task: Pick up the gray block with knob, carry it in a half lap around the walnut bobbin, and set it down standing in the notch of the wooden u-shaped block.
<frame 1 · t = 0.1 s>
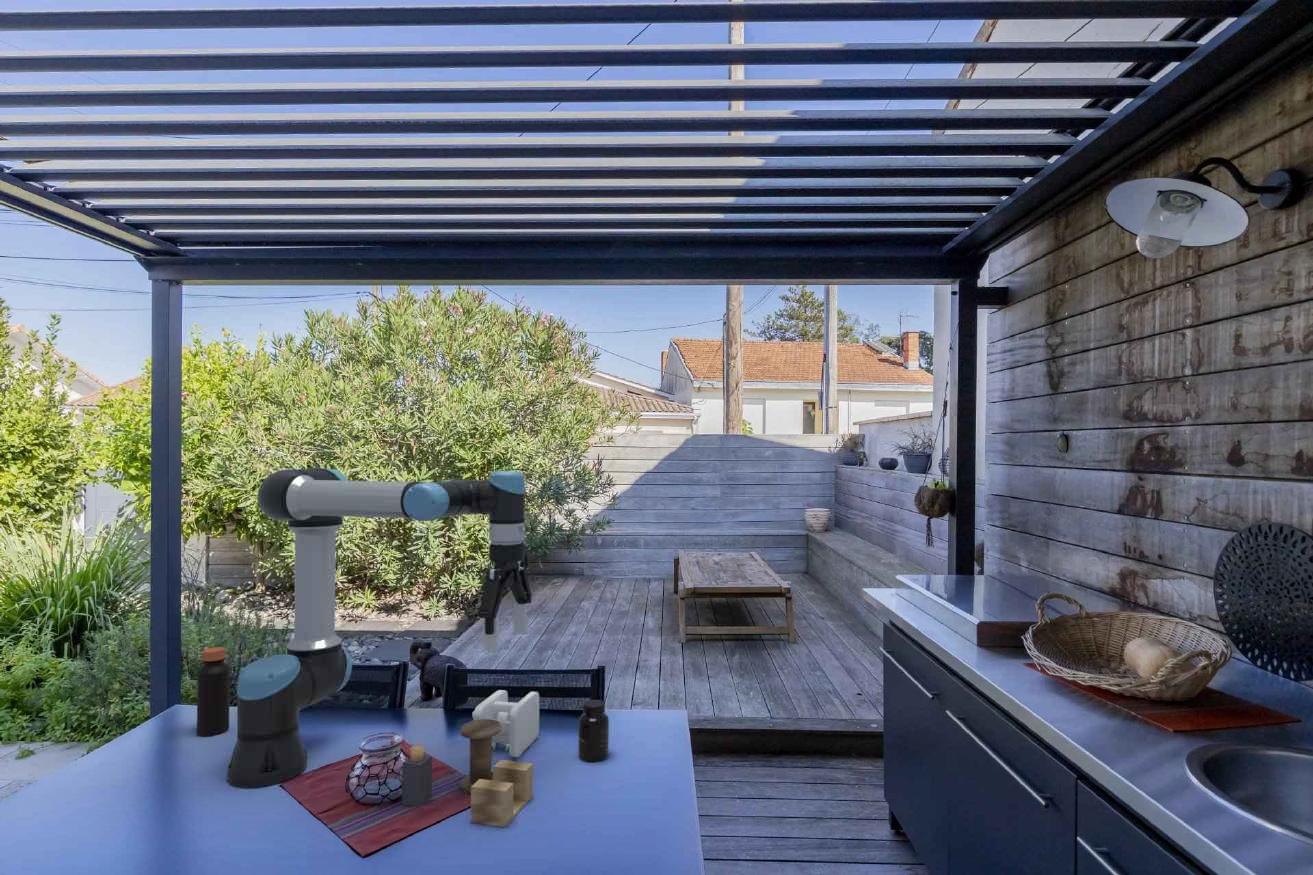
hand: (506, 640, 155), 28 cm above the table, tool pointing down, fingers open, 13 cm apart
vinegar: (213, 732, 176), on the table
supplement bottle: (593, 757, 162), on the table
wooden u-shaped block: (502, 809, 138), on the table
bobbin: (480, 784, 148), on the table
cable organizer: (506, 749, 166), on the table
gray block with knob: (417, 800, 142), on the table
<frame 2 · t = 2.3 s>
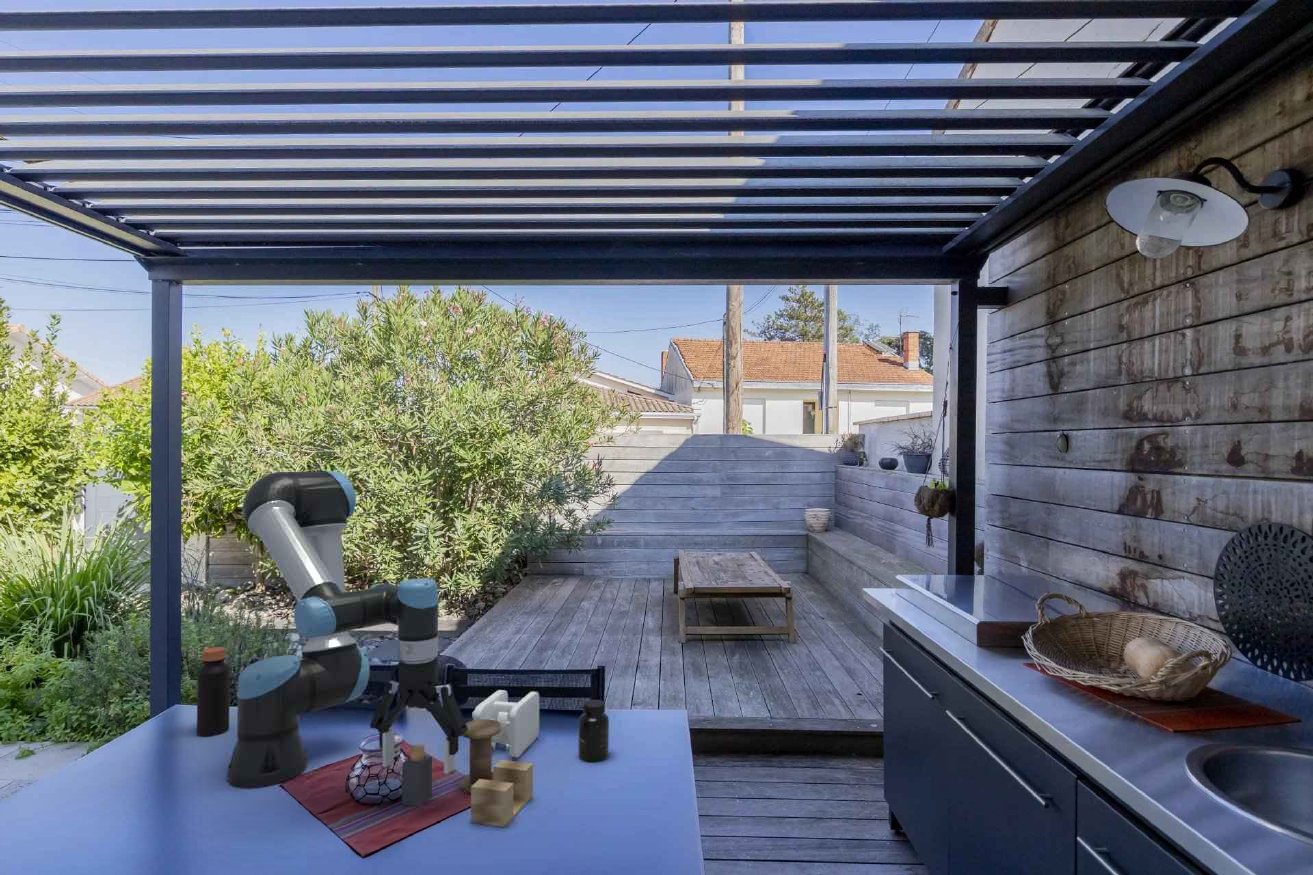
hand: (418, 767, 142), 7 cm above the table, tool pointing down, fingers open, 13 cm apart
nothing on the table moved.
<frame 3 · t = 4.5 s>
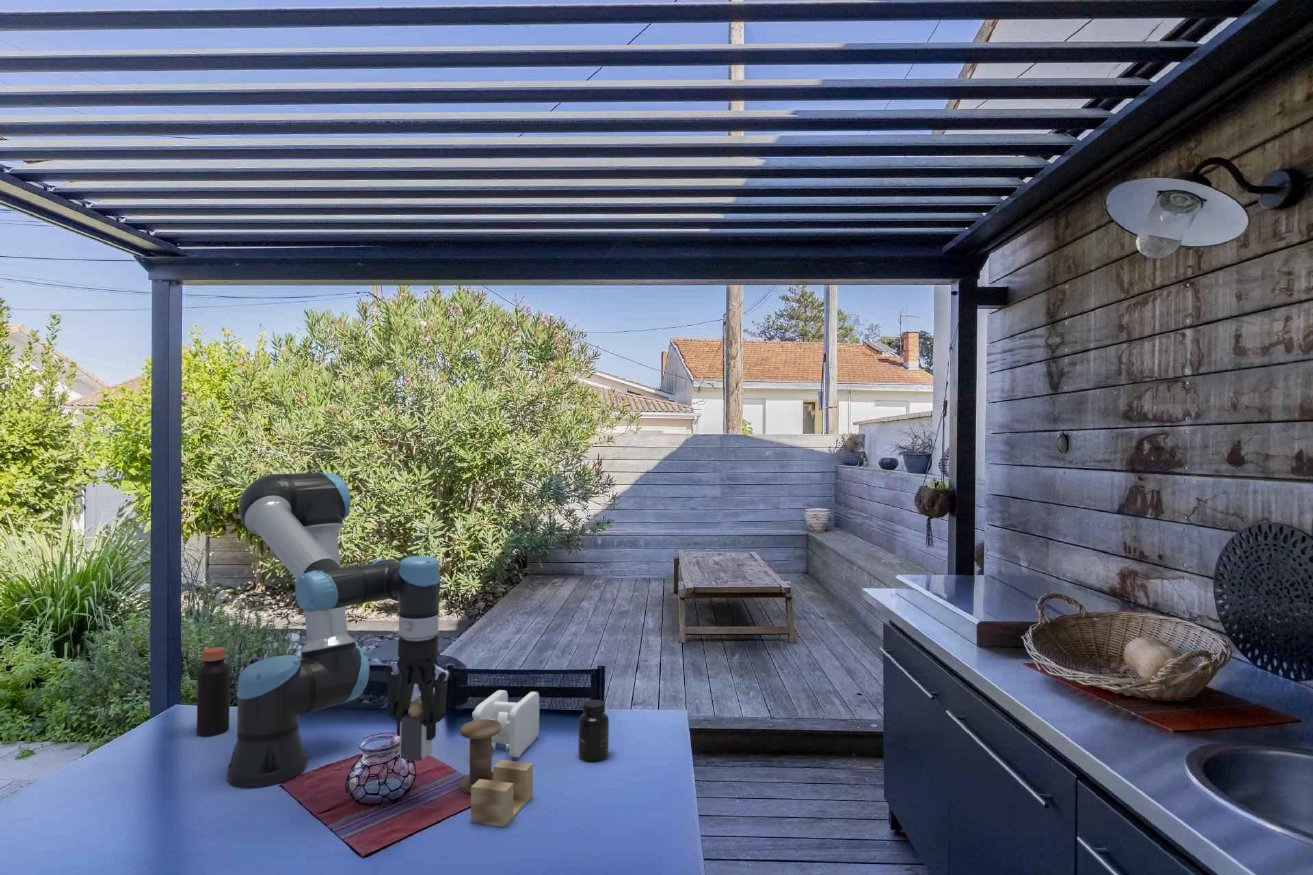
hand: (415, 753, 142), 9 cm above the table, tool pointing down, fingers closed on gray block with knob, 4 cm apart
gray block with knob: (415, 755, 142), point 9 cm above the table, touching gripper
everything else where it was.
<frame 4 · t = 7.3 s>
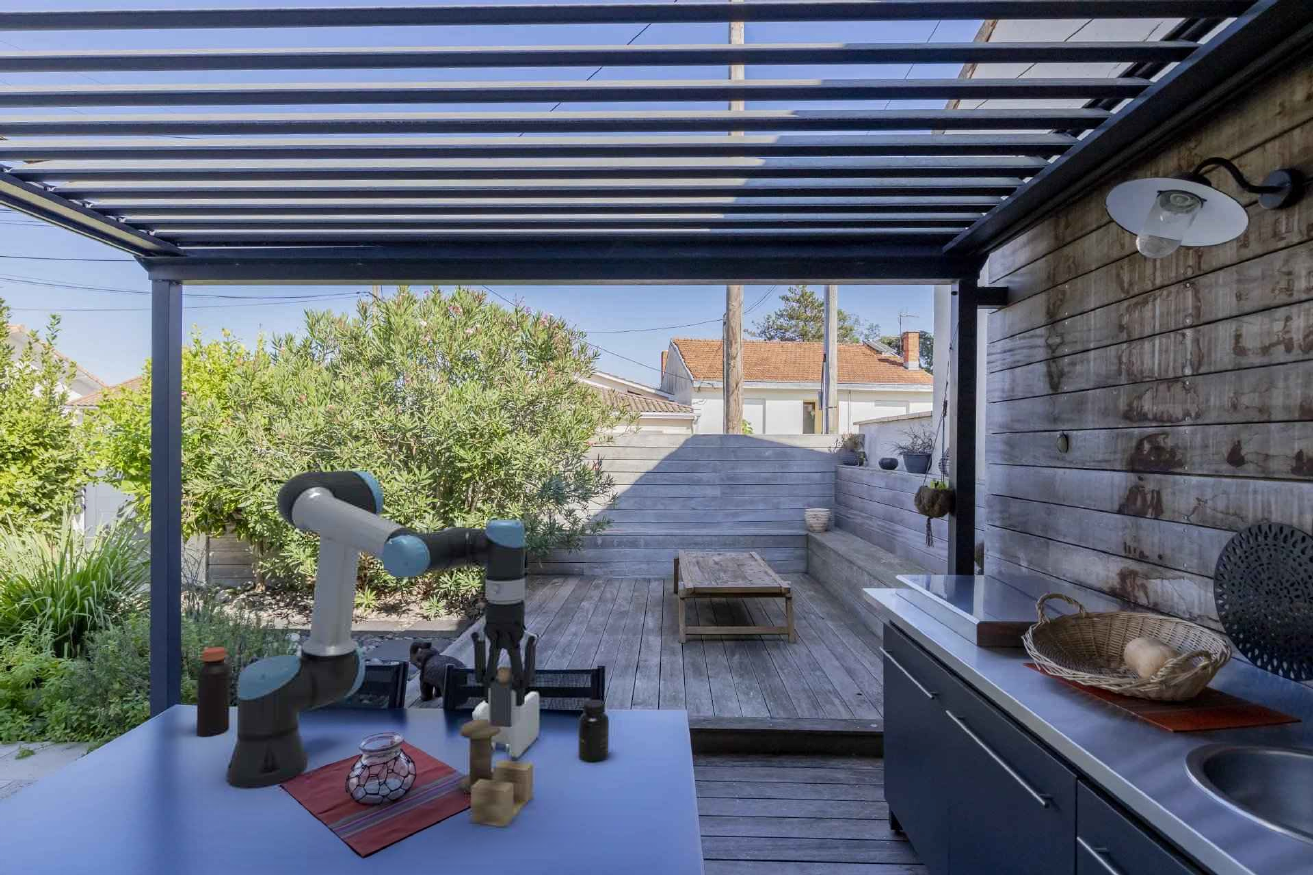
hand: (504, 720, 139), 17 cm above the table, tool pointing down, fingers closed on gray block with knob, 4 cm apart
gray block with knob: (504, 722, 139), point 16 cm above the table, touching gripper
everything else where it was.
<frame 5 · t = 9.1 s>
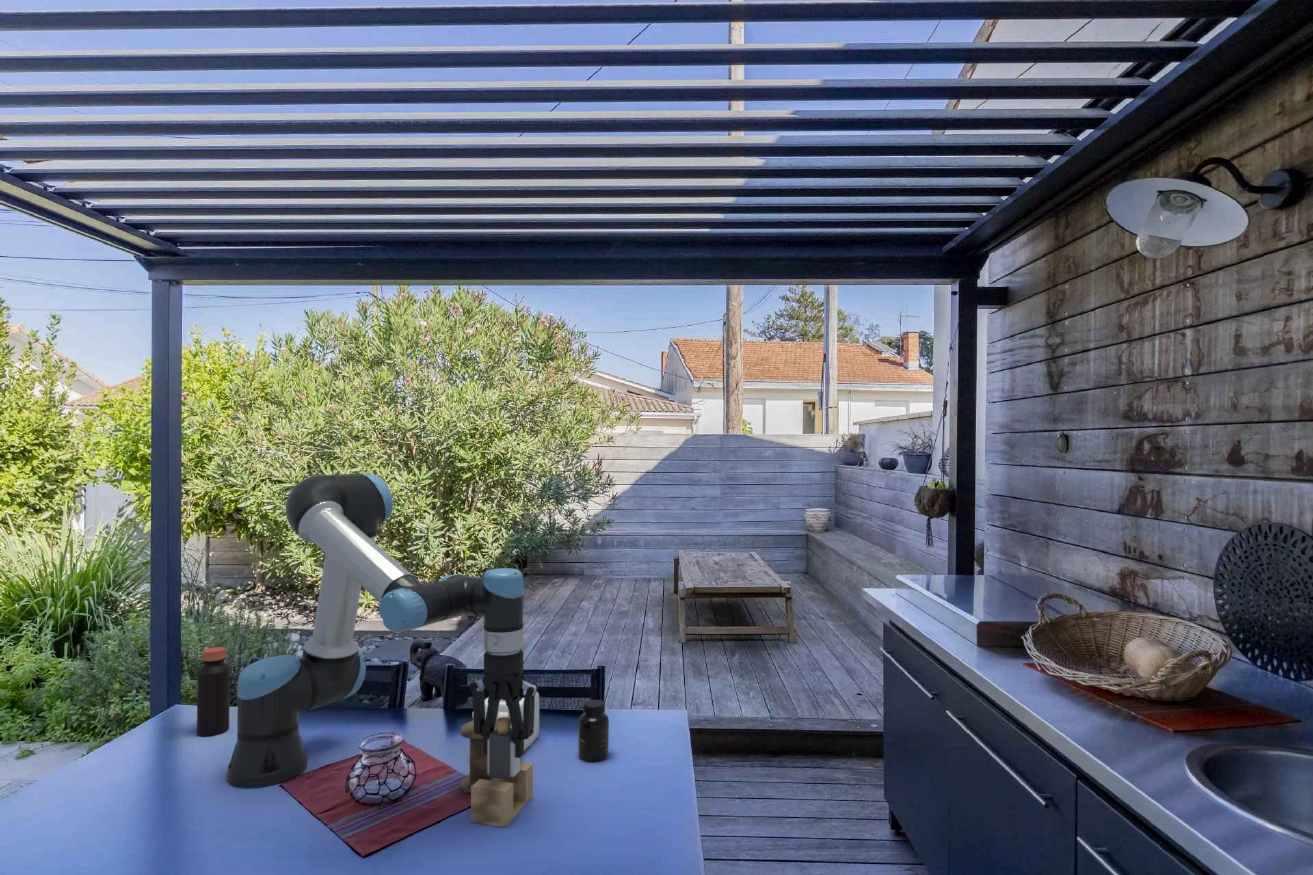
hand: (503, 771, 138), 7 cm above the table, tool pointing down, fingers closed on gray block with knob, 4 cm apart
gray block with knob: (503, 773, 138), point 7 cm above the table, touching gripper
everything else where it was.
when the fingers open (2 cm above the table, at t = 10.4 s): gray block with knob stays where it is, resting on wooden u-shaped block.
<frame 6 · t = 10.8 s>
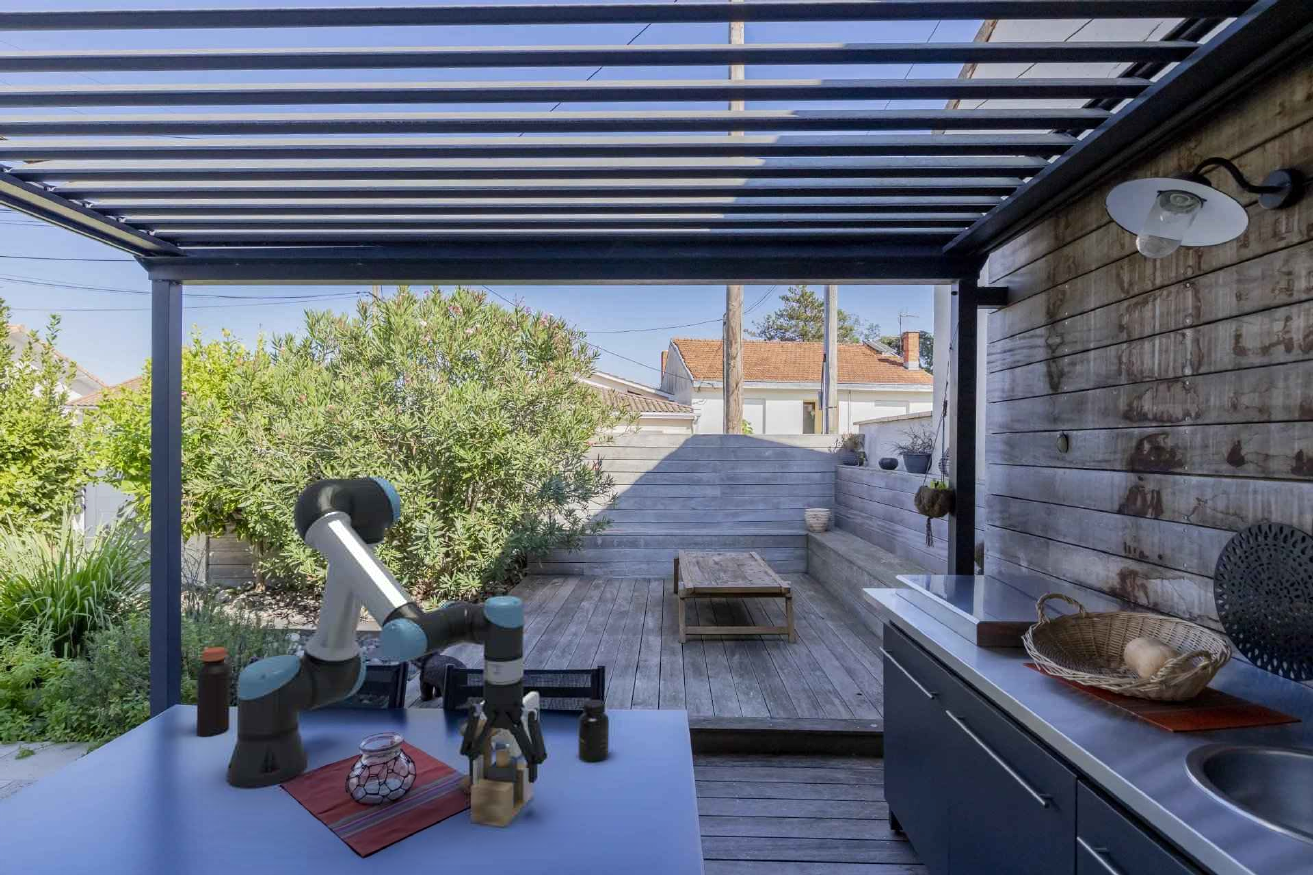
hand: (502, 794, 138), 3 cm above the table, tool pointing down, fingers open, 10 cm apart
gray block with knob: (502, 805, 138), point 1 cm above the table, touching wooden u-shaped block
everything else where it was.
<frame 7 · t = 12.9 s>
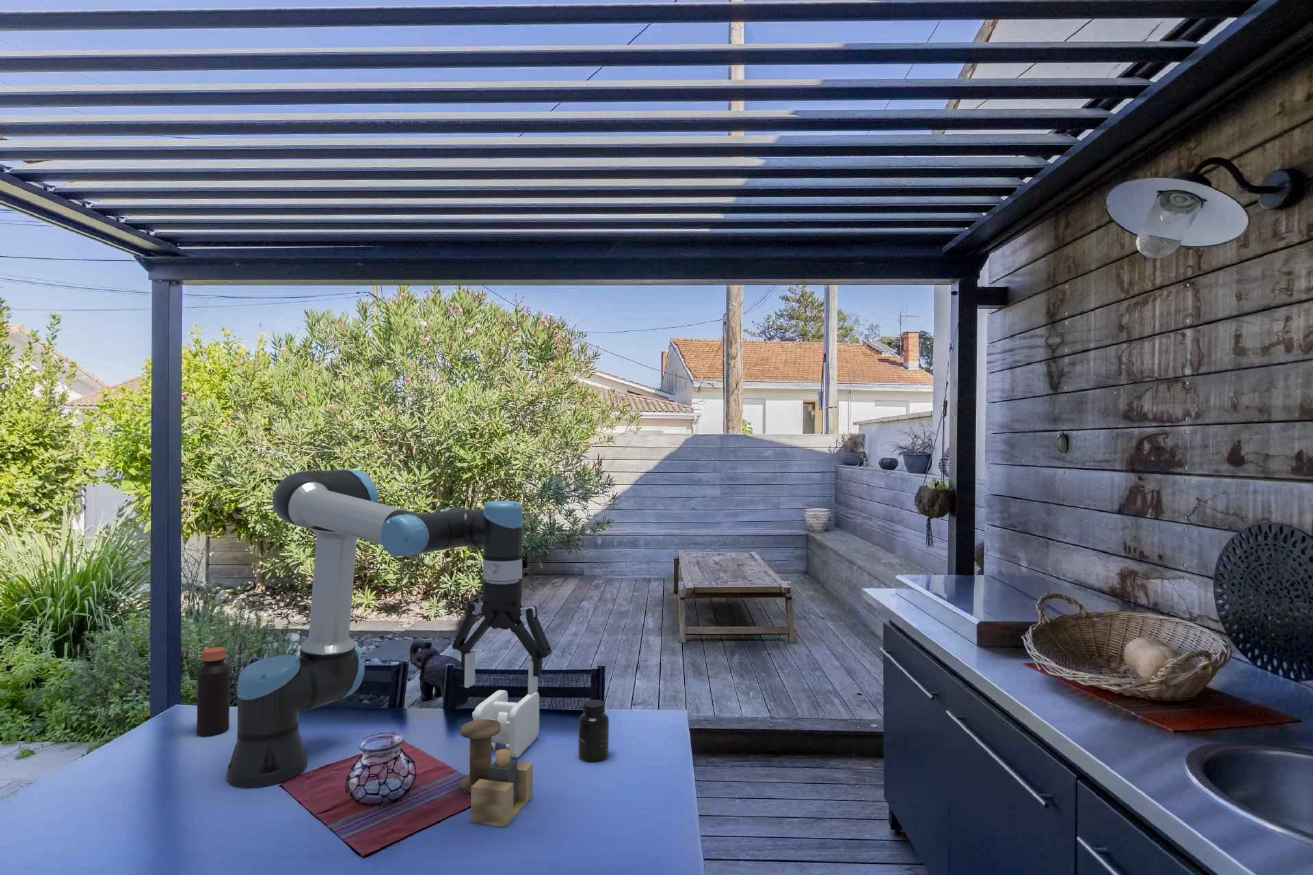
hand: (500, 689, 141), 22 cm above the table, tool pointing down, fingers open, 13 cm apart
nothing on the table moved.
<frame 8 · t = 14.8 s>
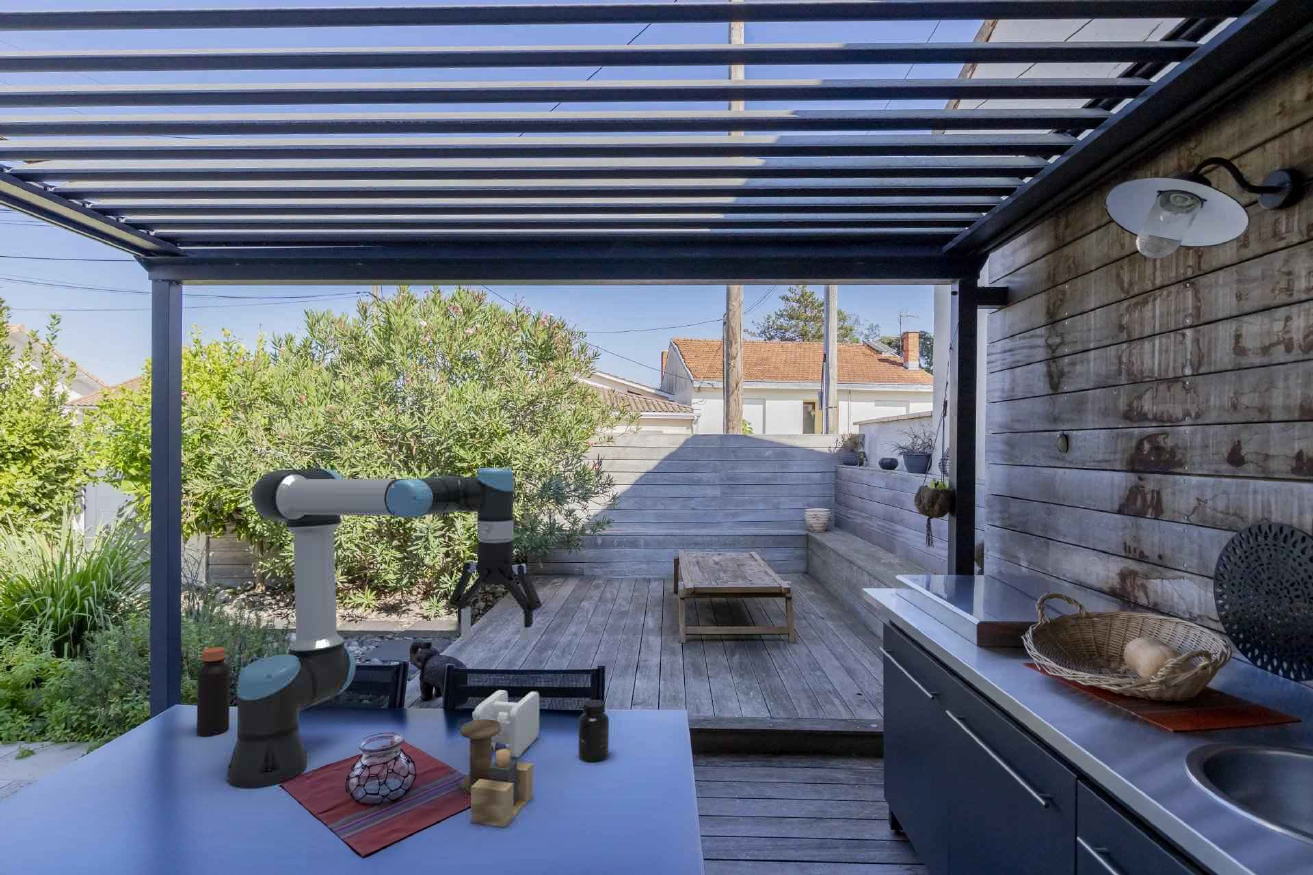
hand: (494, 640, 152), 29 cm above the table, tool pointing down, fingers open, 13 cm apart
nothing on the table moved.
at the end: gray block with knob 0.0 cm off-centre on the wooden u-shaped block, point 0.6 cm above the wooden u-shaped block's base; gray block with knob tilted 0°; the gripper is holding nothing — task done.
